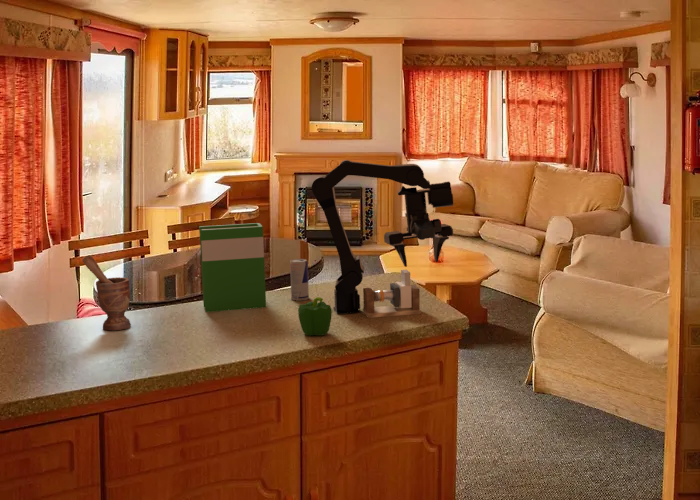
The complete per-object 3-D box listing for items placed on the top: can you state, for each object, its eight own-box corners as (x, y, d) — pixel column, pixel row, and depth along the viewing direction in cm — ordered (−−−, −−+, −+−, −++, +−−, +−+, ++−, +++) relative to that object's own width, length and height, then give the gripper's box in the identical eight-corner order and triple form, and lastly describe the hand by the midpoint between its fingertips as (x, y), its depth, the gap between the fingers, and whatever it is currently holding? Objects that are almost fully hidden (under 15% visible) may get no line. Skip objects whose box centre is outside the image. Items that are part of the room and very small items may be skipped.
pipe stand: (368, 317, 214) (367, 293, 212) (362, 311, 220) (362, 287, 219) (420, 313, 216) (420, 289, 215) (413, 307, 223) (413, 284, 222)
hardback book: (205, 312, 223) (200, 230, 219) (203, 306, 230) (199, 226, 226) (266, 307, 227) (262, 226, 223) (262, 301, 234) (259, 223, 230)
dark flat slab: (395, 307, 215) (395, 287, 214) (390, 302, 221) (390, 283, 220) (399, 307, 215) (399, 287, 214) (394, 302, 221) (394, 283, 220)
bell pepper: (294, 332, 201) (293, 294, 200) (323, 327, 205) (322, 291, 203) (306, 340, 194) (305, 301, 192) (336, 335, 197) (335, 297, 195)
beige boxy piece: (401, 308, 215) (400, 273, 214) (395, 302, 221) (395, 269, 220) (411, 307, 216) (411, 273, 214) (405, 302, 222) (405, 268, 220)
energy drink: (312, 297, 237) (311, 259, 235) (302, 301, 233) (300, 262, 230) (298, 295, 240) (296, 258, 238) (287, 299, 235) (286, 261, 233)
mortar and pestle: (87, 334, 203) (80, 260, 200) (88, 325, 211) (82, 254, 208) (132, 330, 206) (127, 256, 203) (132, 321, 214) (127, 251, 211)
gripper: (393, 217, 205) (398, 274, 208) (458, 207, 209) (463, 264, 212) (381, 212, 216) (386, 267, 219) (443, 204, 220) (448, 257, 223)
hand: (421, 264), depth 218 cm, fingers open, 9 cm apart
